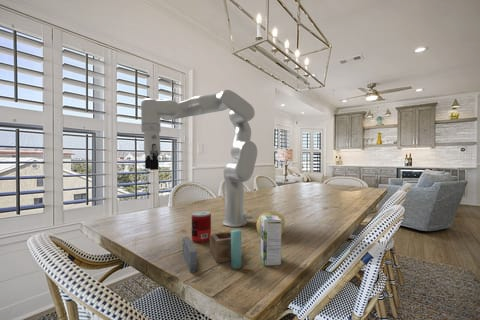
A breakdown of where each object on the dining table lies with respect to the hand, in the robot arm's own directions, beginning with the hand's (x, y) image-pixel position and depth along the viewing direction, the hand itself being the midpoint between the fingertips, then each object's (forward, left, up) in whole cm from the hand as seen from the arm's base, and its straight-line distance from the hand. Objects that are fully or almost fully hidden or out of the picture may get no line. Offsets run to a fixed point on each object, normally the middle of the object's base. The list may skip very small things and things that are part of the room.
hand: (151, 169), depth 98 cm
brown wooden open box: (-22, +30, -29) cm, 47 cm away
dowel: (-23, +39, -29) cm, 53 cm away
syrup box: (-35, +40, -29) cm, 60 cm away
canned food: (-19, +11, -29) cm, 36 cm away
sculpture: (-47, +19, -29) cm, 58 cm away
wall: (-10, +30, -29) cm, 43 cm away
